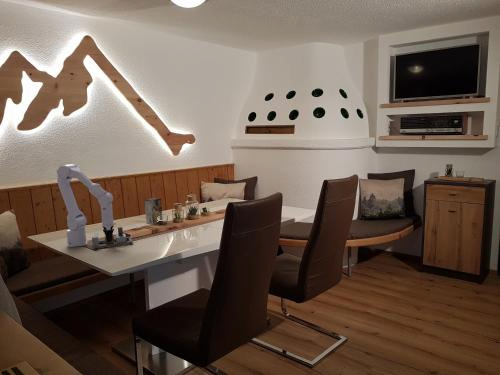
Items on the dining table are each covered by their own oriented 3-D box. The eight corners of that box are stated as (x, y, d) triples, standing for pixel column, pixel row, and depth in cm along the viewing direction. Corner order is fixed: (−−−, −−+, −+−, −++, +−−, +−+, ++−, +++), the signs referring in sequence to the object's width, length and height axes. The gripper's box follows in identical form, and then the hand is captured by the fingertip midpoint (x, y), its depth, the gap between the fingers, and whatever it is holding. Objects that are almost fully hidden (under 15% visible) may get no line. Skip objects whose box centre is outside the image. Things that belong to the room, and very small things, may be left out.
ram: (116, 245, 208) (115, 229, 206) (116, 241, 215) (114, 226, 214) (126, 243, 209) (125, 228, 208) (125, 240, 217) (124, 225, 216)
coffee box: (156, 220, 266) (154, 197, 264) (162, 221, 262) (161, 198, 260) (146, 223, 258) (144, 199, 256) (152, 224, 255) (151, 200, 252)
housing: (105, 246, 207) (104, 236, 206) (105, 244, 211) (104, 235, 211) (114, 245, 209) (113, 235, 208) (114, 243, 213) (113, 233, 212)
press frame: (92, 249, 202) (91, 238, 201) (93, 244, 212) (92, 233, 211) (132, 244, 209) (131, 233, 208) (131, 239, 219) (130, 229, 218)
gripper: (115, 217, 202) (117, 242, 204) (114, 212, 216) (116, 236, 218) (101, 218, 200) (103, 244, 202) (101, 213, 213) (103, 237, 215)
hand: (109, 240), depth 210 cm, fingers open, 7 cm apart
